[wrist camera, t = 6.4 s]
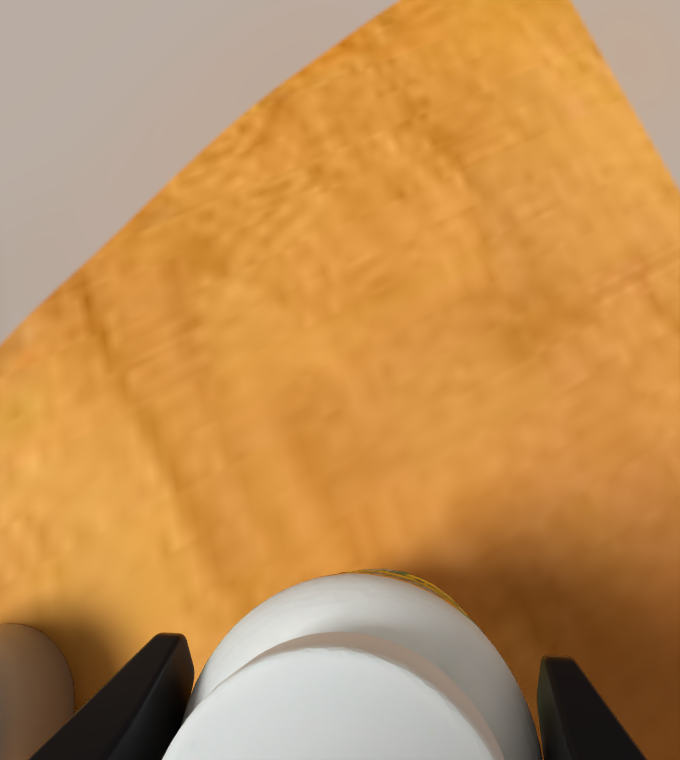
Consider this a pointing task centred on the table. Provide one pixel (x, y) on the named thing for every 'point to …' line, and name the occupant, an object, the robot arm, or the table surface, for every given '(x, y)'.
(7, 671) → the gray capsule
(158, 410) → the table surface
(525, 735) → the supplement bottle
